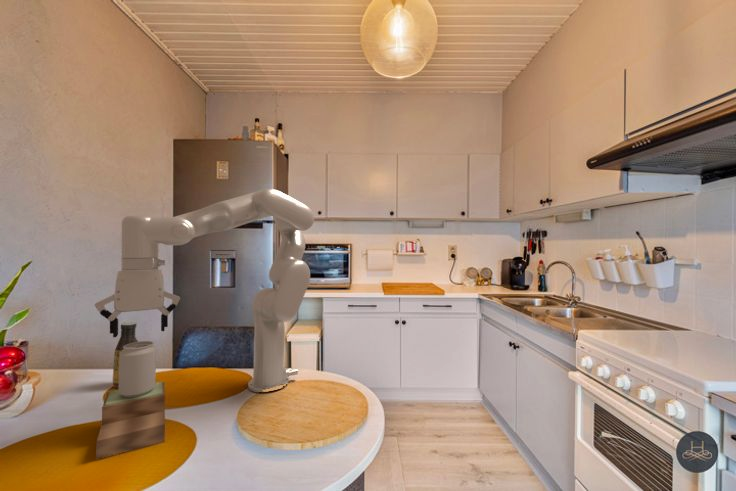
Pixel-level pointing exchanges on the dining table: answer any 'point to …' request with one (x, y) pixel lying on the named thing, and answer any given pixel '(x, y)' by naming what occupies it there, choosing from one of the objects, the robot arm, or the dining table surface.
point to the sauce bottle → (125, 339)
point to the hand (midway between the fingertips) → (140, 333)
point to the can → (137, 369)
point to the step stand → (131, 422)
